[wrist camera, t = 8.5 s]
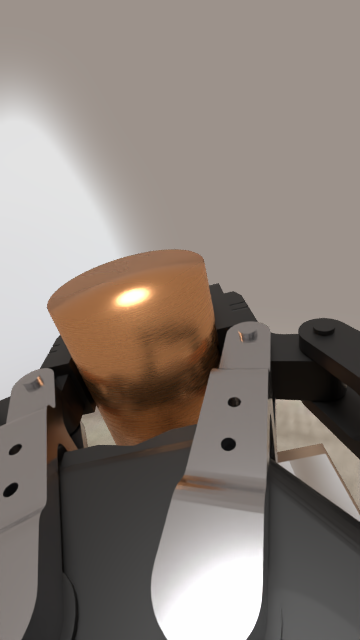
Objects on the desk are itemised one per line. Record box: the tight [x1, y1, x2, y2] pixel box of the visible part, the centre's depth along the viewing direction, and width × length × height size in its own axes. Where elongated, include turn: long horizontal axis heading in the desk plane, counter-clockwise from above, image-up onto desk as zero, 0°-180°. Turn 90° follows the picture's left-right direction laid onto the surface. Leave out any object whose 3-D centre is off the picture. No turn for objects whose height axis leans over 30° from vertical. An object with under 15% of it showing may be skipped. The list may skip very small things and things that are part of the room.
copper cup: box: [47, 249, 221, 446], centre depth 12 cm, size 5×5×11 cm
